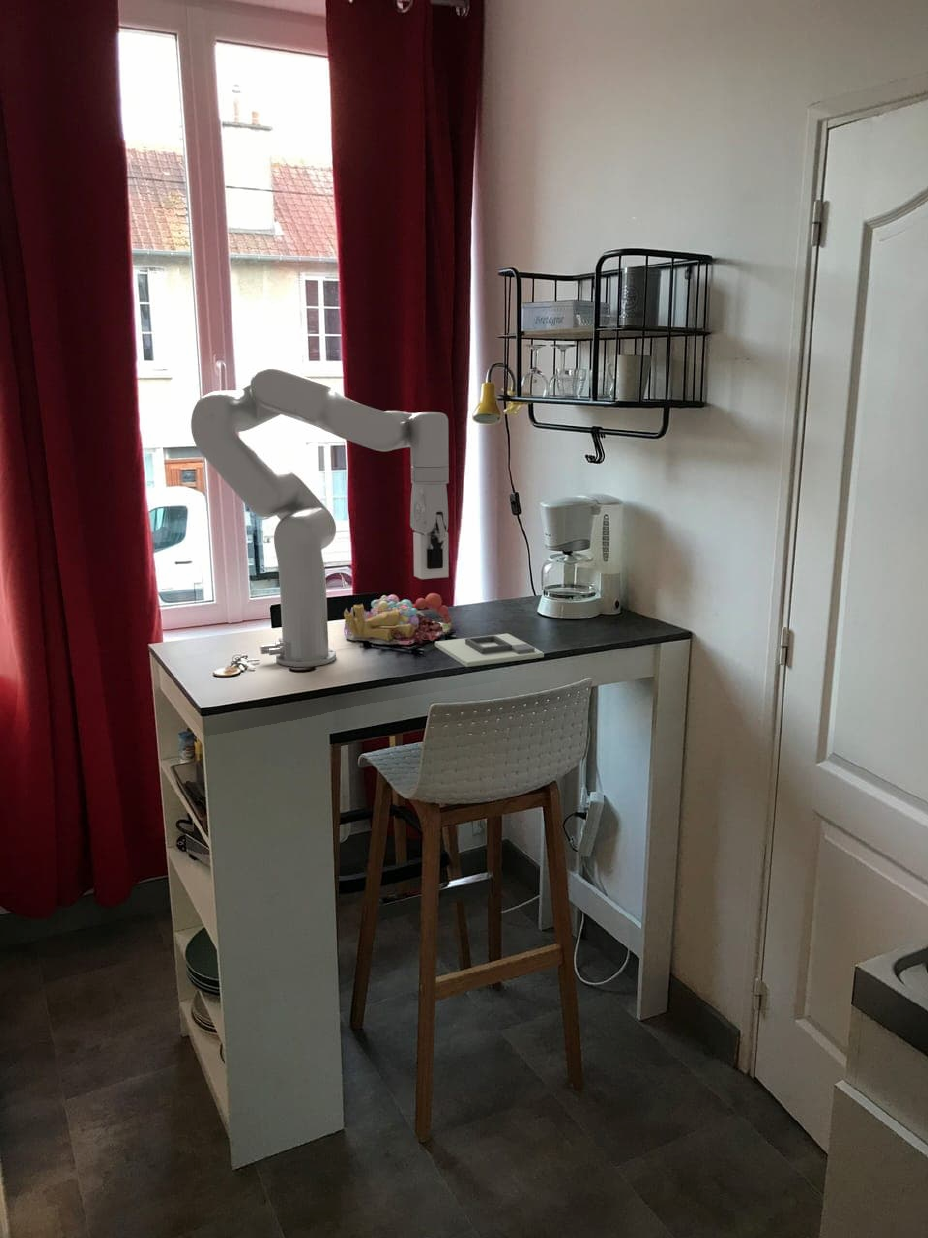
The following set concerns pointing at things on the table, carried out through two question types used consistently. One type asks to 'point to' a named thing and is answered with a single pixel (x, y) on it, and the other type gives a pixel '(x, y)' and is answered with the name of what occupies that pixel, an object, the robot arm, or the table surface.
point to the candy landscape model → (396, 621)
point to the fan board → (488, 650)
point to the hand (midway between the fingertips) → (430, 565)
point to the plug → (421, 557)
